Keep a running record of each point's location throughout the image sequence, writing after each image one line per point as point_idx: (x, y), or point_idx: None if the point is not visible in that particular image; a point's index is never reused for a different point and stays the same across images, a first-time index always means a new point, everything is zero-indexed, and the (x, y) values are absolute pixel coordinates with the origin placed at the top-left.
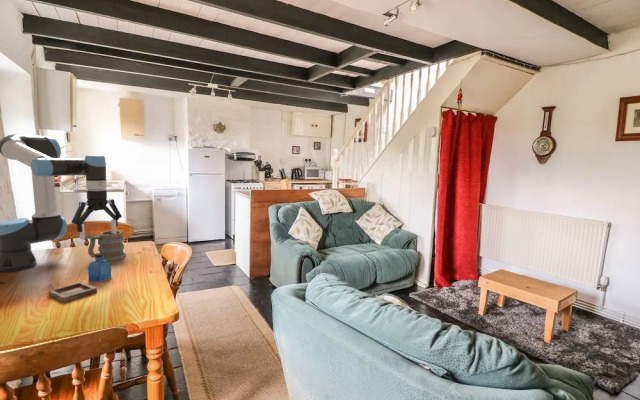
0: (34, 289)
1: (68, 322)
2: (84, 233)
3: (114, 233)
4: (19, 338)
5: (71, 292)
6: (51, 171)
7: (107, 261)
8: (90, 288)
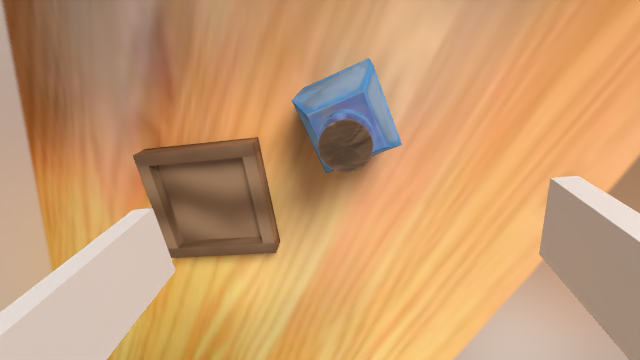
0: (99, 30)
1: (173, 352)
2: (131, 323)
3: (541, 251)
4: None
5: (209, 194)
6: None
7: (387, 147)
8: (261, 232)
